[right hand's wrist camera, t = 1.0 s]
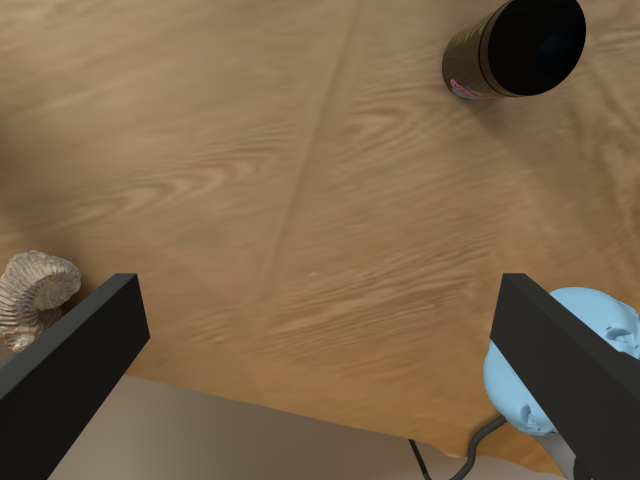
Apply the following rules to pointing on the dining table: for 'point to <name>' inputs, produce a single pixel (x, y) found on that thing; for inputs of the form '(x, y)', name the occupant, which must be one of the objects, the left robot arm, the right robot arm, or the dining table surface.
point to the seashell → (34, 296)
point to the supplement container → (515, 50)
